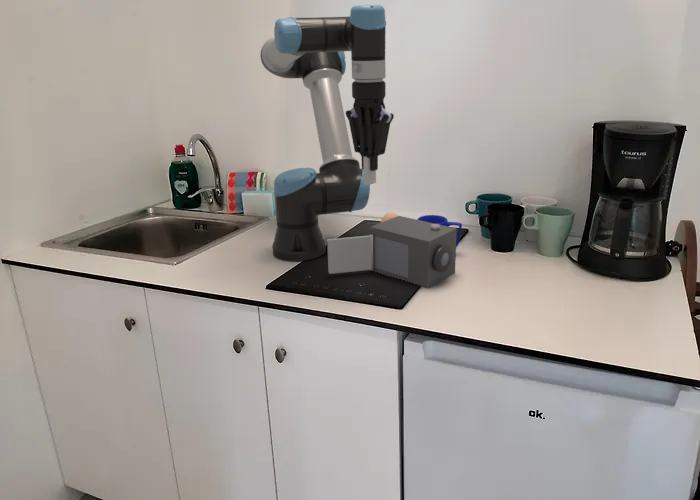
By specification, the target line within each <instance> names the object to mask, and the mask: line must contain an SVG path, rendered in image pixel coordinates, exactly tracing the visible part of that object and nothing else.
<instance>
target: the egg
mask: <svg viewBox="0 0 700 500" xmlns="http://www.w3.org/2000/svg"><path fill="white" fill-rule="evenodd" d="M397 216H400V215H399V214H398V213H396V212H394V211H389V212H387V213H385V214H384V215H383V217H382V219H381V220H380V223H381V222H384V221H387V220H389V219H392V218H394V217H397Z"/></svg>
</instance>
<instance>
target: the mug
mask: <svg viewBox="0 0 700 500" xmlns="http://www.w3.org/2000/svg"><path fill="white" fill-rule="evenodd" d="M416 220H420V221H425V222H429V223H434V224H440V225H443V226H447V227H451V226H458V233H457V237H456V248H457V247H458V245H459V243H460V240H461V236H462V235H461V234H462V229H463V228H462V227H463V223H461V222H458V221H457V222H456V221H449V220H448V218H447V217H445V216H442V215H437V214H426V215H421V216H420V217H418V218H417V219H416Z"/></svg>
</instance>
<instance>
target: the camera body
mask: <svg viewBox="0 0 700 500" xmlns="http://www.w3.org/2000/svg"><path fill="white" fill-rule="evenodd" d="M457 232H458V229H457V228H455V227H451V226H449V227H447V226H443V225H440V224H434V223H429V222H425V221H420V220H417V219H415V218H411V217H406V216H402V215H399V216H397V217H394V218H392V219H389V220H387V221H384V222H381V221H380V222H379V223H377V224H373V225H372V226H370V227H369V235H370V234H373V257H374V270H373V271H372V272H374V271H375V272H374V273H377V272H378V273H377V274H380V273H381V275H383V274H384V275H383V276H387V277H390V276H391V277H390V278H393V277H394V279H396V278H397V279H396V280H399V279H401V280H400V281H403V280H405V281H404V282H406V281H408V282H407V283H409V282H411V283H410V284H412V283H414V284H413V285H415V284H418V285H417V286H419V285H420V286H419V287H421V288H422V287H423V288H426V289H429V288H431V287H433V286H436V284H438V283H441V282H442V281H443V280H445V279H447V278H449V277H451V276H453V275H454V274H455V273H456V260H457V259H456V257H457V256H456V255H457V247H456V241H457V236H458V233H457Z"/></svg>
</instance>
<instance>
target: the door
mask: <svg viewBox="0 0 700 500" xmlns="http://www.w3.org/2000/svg"><path fill="white" fill-rule="evenodd" d="M326 241H327V242H326V243H327V244H326V246H327V247H326V249H327V265H328V266H327V267H328V268H327V269H328V274H329V275H331V274H341V273H351V272H361V271H371V272H374V271H373V270H374V257H373V234H370V233H369V234H368V235H362V236H361V235H359V236H349V237H339V238H338V237H336V238H328V239H326Z"/></svg>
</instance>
